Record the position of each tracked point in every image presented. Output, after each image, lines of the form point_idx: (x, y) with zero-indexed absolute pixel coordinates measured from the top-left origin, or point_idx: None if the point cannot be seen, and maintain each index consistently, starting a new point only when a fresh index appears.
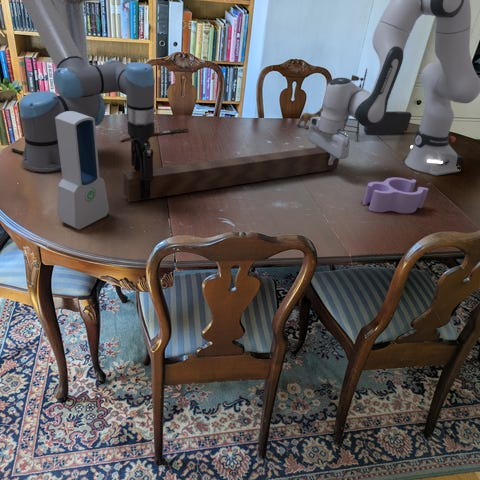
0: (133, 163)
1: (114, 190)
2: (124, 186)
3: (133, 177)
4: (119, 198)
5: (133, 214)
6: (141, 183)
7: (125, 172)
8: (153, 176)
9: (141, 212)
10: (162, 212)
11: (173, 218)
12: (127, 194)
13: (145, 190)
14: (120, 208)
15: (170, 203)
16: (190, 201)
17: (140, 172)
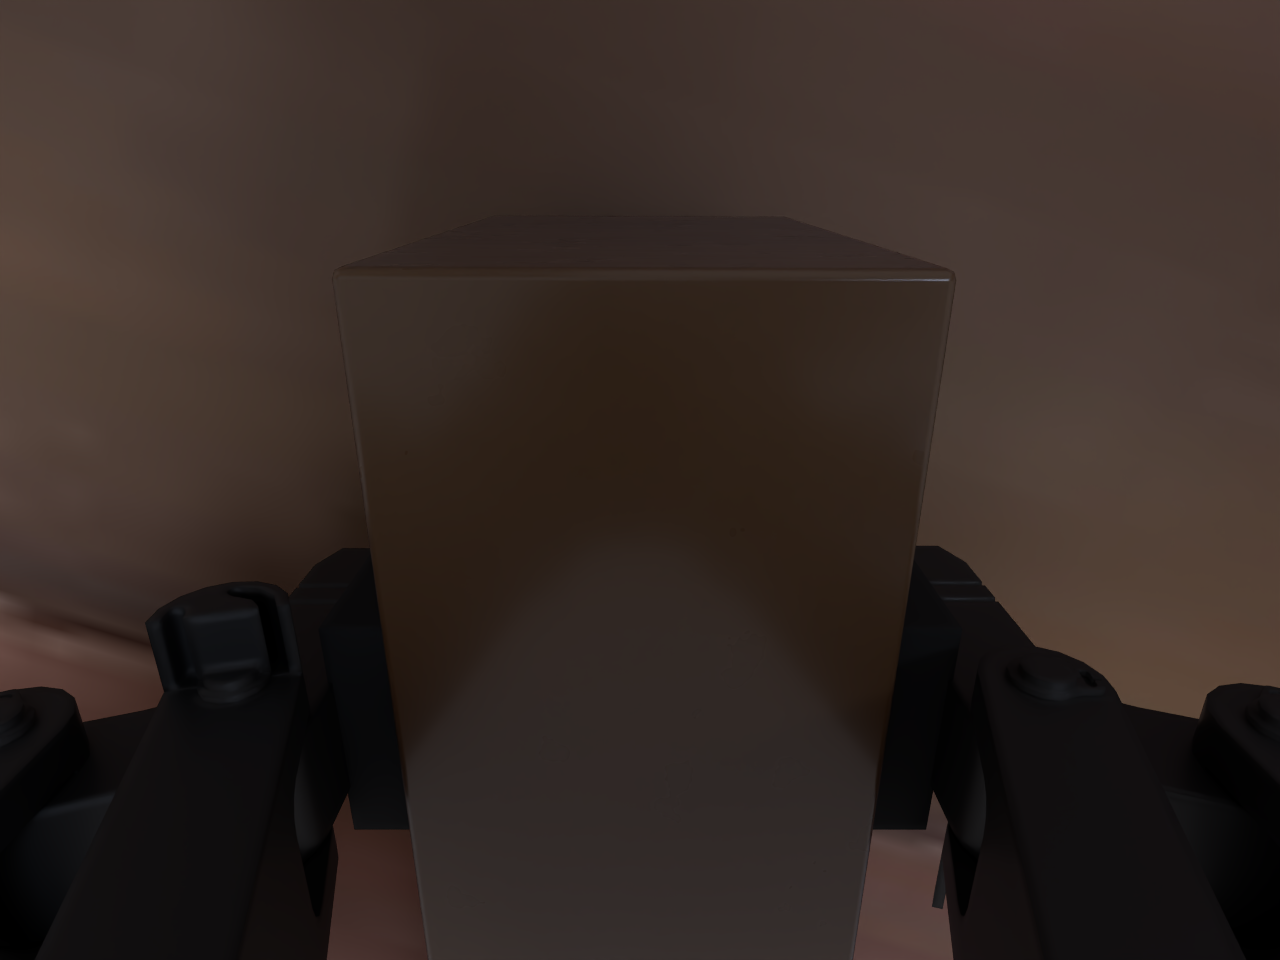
0: (1244, 780)
1: (1101, 123)
2: (788, 230)
3: (444, 477)
4: (783, 118)
5: (177, 175)
6: (357, 581)
7: (914, 342)
8: (429, 937)
9: (224, 319)
10: (182, 585)
11: (5, 654)
12: (575, 221)
13: (337, 565)
14: (424, 17)
15: None
16: (402, 931)
17: (735, 751)
